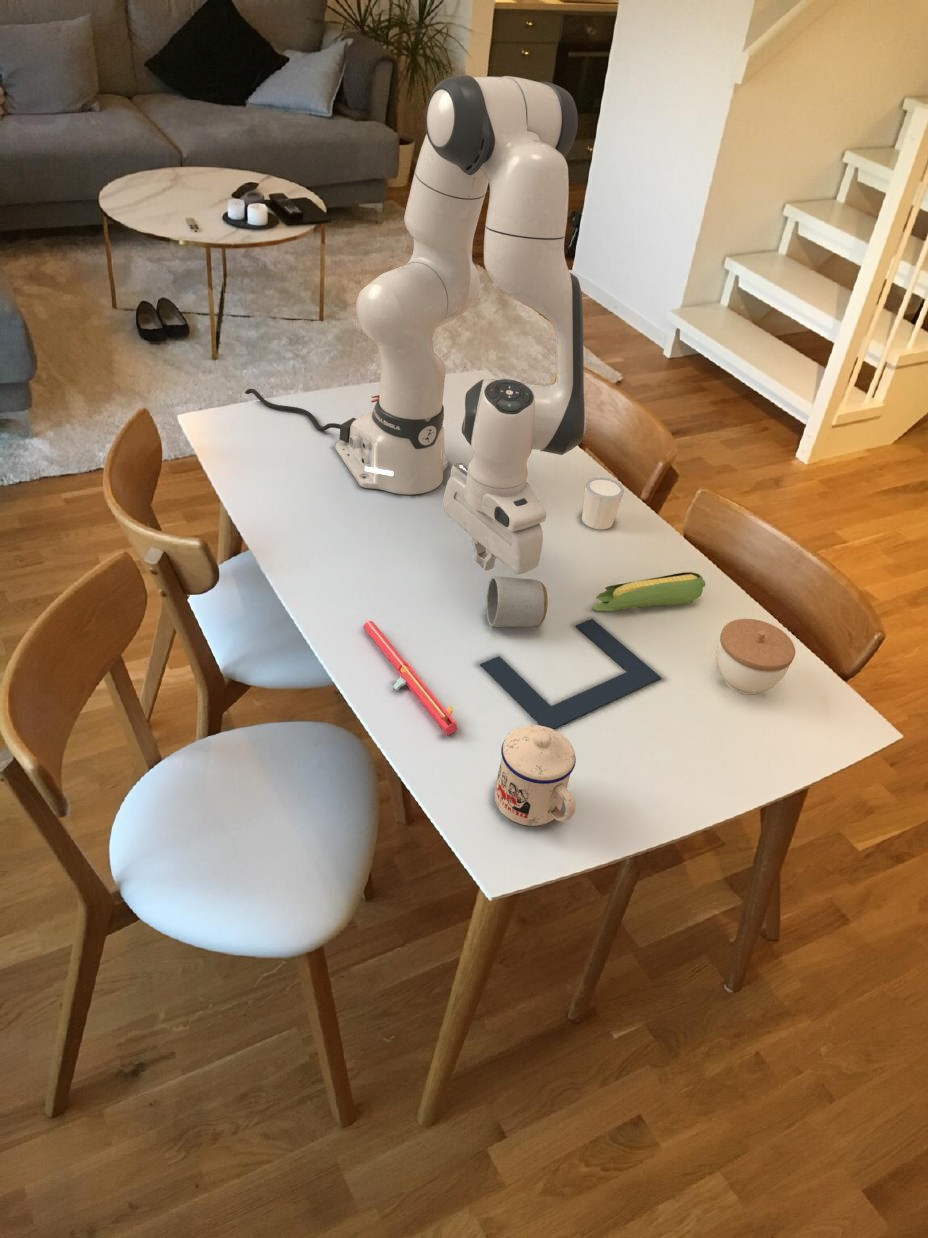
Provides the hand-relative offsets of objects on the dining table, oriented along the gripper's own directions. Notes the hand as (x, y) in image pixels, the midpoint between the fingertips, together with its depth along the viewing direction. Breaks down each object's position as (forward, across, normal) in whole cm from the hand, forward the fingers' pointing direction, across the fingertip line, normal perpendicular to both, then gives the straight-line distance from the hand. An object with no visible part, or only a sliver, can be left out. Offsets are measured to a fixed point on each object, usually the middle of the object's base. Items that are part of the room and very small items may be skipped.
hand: (483, 564), depth 157 cm
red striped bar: (+5, +12, -23) cm, 26 cm away
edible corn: (+5, +16, +22) cm, 27 cm away
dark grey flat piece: (+5, +23, -1) cm, 23 cm away
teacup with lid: (+5, +40, -22) cm, 46 cm away
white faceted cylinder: (+5, -6, +31) cm, 32 cm away
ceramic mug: (+5, +8, 0) cm, 9 cm away
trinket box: (+5, +37, +21) cm, 43 cm away
